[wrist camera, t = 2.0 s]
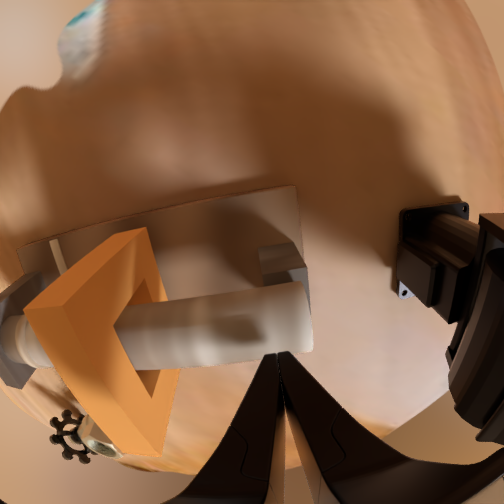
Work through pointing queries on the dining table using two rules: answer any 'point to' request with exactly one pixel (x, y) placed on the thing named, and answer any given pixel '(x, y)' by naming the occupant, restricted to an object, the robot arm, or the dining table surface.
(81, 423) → the valve
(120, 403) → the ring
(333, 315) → the dining table surface
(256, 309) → the pipe stand
